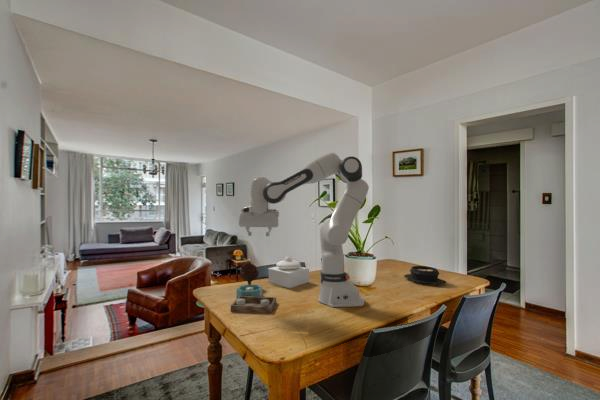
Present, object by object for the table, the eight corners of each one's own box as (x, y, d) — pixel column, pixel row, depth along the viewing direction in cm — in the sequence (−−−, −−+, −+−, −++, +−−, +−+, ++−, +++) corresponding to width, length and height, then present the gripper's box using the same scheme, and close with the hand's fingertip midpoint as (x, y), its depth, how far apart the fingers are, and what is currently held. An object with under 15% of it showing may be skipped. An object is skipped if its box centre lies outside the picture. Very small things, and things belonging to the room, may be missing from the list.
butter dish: (309, 282, 174) (309, 256, 174) (288, 289, 161) (288, 260, 161) (288, 277, 186) (288, 252, 186) (267, 283, 173) (267, 256, 173)
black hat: (397, 279, 182) (397, 266, 182) (413, 275, 194) (413, 263, 194) (436, 289, 162) (436, 274, 162) (451, 284, 174) (452, 270, 174)
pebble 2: (254, 294, 147) (254, 286, 147) (252, 297, 143) (252, 289, 143) (246, 294, 148) (246, 286, 148) (244, 296, 144) (245, 288, 144)
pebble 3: (269, 308, 129) (269, 299, 129) (268, 311, 126) (268, 302, 126) (261, 308, 130) (261, 299, 130) (259, 311, 126) (259, 302, 126)
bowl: (263, 294, 151) (263, 284, 151) (258, 301, 139) (258, 292, 139) (241, 293, 152) (241, 284, 152) (234, 300, 140) (234, 291, 140)
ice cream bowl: (255, 291, 155) (255, 264, 155) (236, 290, 157) (236, 263, 157) (262, 286, 165) (262, 260, 165) (243, 285, 167) (244, 259, 167)
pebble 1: (246, 307, 130) (246, 298, 130) (243, 310, 127) (243, 301, 127) (237, 307, 131) (238, 298, 131) (235, 310, 127) (235, 301, 127)
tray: (276, 303, 137) (276, 297, 137) (271, 314, 124) (271, 307, 124) (239, 302, 138) (239, 296, 138) (230, 312, 125) (230, 305, 125)
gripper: (279, 209, 150) (279, 235, 150) (241, 208, 152) (241, 234, 152) (277, 209, 144) (277, 237, 143) (238, 208, 145) (237, 236, 145)
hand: (258, 235), depth 148 cm, fingers open, 8 cm apart
